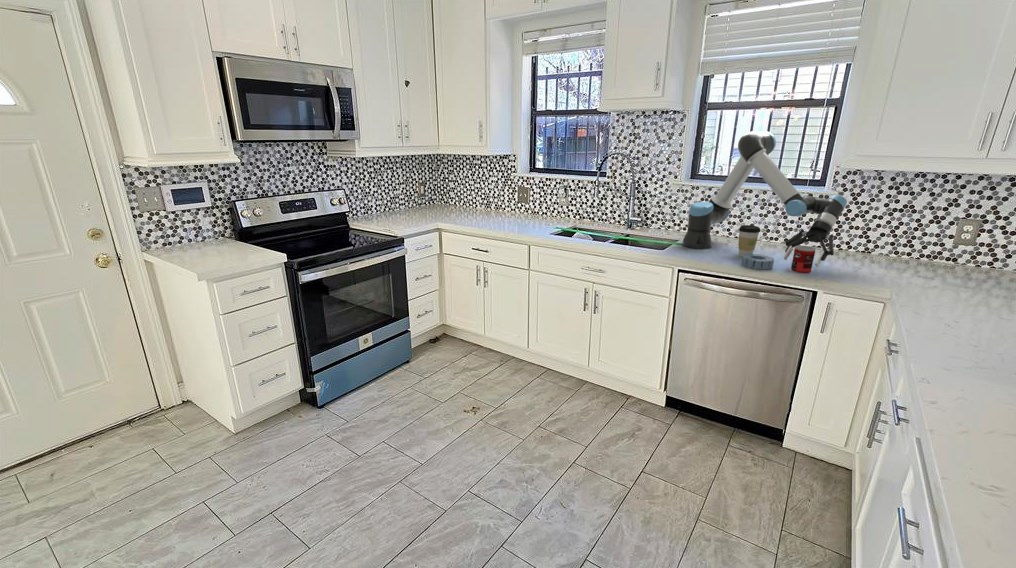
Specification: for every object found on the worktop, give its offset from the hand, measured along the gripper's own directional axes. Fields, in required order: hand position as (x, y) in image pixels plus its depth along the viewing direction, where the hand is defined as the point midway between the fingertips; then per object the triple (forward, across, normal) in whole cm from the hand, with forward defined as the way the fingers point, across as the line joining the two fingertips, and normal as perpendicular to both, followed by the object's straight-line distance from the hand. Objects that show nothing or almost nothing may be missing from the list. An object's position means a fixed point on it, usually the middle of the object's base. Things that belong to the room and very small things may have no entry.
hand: (800, 261), depth 211 cm
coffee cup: (-1, +29, -8) cm, 30 cm away
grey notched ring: (+7, +16, +1) cm, 18 cm away
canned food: (+2, 0, -5) cm, 5 cm away
